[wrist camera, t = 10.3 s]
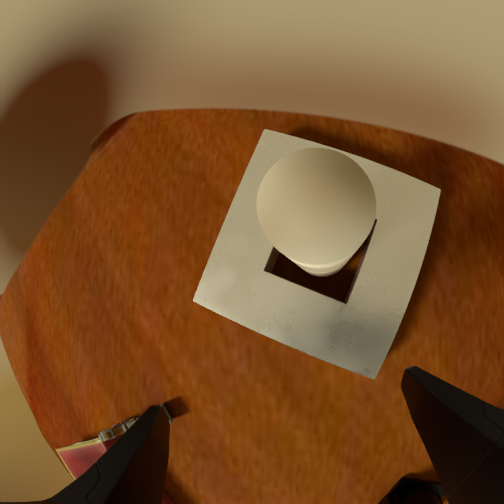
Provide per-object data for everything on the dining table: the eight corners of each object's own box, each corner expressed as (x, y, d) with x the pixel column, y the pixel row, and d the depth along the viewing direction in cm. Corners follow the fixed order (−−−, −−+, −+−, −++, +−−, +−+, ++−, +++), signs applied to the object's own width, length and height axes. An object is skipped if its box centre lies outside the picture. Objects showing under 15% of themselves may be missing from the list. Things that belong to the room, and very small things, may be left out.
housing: (428, 201, 20) (440, 189, 17) (368, 368, 20) (374, 379, 17) (271, 146, 24) (264, 129, 21) (208, 299, 23) (192, 300, 21)
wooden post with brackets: (107, 421, 24) (91, 431, 20) (168, 397, 26) (161, 406, 22) (115, 435, 24) (101, 447, 19) (177, 412, 26) (170, 423, 21)
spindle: (358, 251, 21) (399, 203, 8) (321, 288, 21) (314, 290, 9) (322, 214, 22) (314, 127, 9) (285, 250, 22) (232, 203, 10)
